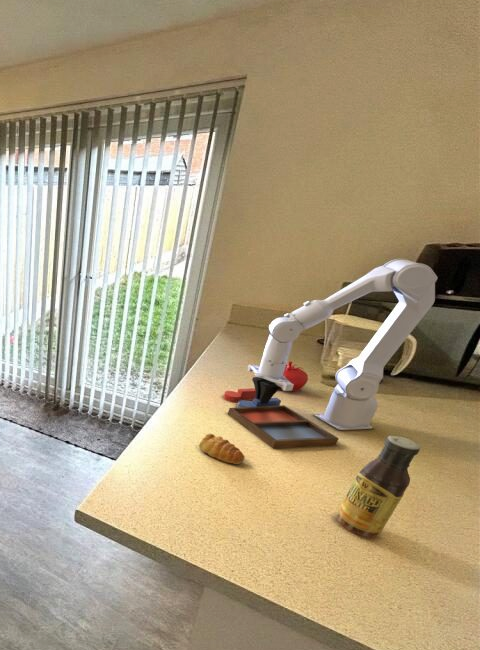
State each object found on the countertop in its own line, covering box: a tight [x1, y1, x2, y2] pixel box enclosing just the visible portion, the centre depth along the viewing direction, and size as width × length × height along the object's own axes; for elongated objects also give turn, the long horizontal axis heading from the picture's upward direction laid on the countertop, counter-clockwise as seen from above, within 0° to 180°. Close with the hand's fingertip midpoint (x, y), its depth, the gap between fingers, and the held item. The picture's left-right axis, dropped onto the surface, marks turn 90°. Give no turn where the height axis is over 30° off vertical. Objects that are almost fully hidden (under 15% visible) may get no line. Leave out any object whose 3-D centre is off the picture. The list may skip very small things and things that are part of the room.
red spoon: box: [223, 387, 256, 403], centre depth 123 cm, size 12×4×3 cm, turn 93°
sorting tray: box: [227, 404, 340, 449], centre depth 107 cm, size 17×17×2 cm
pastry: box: [198, 433, 246, 465], centre depth 96 cm, size 9×7×4 cm
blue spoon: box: [236, 397, 282, 407], centre depth 117 cm, size 12×4×3 cm, turn 93°
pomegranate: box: [279, 360, 309, 392], centre depth 128 cm, size 10×10×9 cm
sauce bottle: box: [336, 435, 421, 538], centre depth 71 cm, size 7×6×20 cm
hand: (261, 402), depth 116 cm, fingers closed on blue spoon
